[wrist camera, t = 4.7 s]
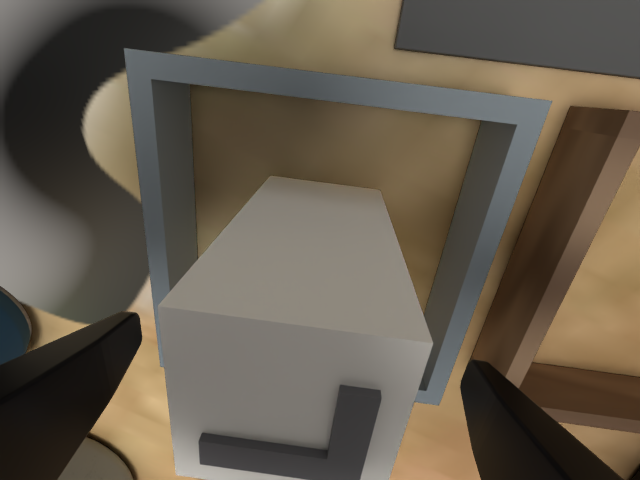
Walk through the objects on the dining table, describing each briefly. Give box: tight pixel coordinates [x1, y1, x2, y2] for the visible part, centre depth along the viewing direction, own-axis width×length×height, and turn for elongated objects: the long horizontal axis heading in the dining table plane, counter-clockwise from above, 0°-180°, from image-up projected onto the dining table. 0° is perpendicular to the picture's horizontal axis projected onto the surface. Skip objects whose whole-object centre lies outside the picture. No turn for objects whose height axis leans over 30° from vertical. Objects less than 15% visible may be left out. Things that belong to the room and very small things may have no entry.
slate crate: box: [124, 48, 552, 405], centre depth 15 cm, size 14×14×3 cm
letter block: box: [158, 176, 433, 480], centre depth 12 cm, size 5×5×10 cm
